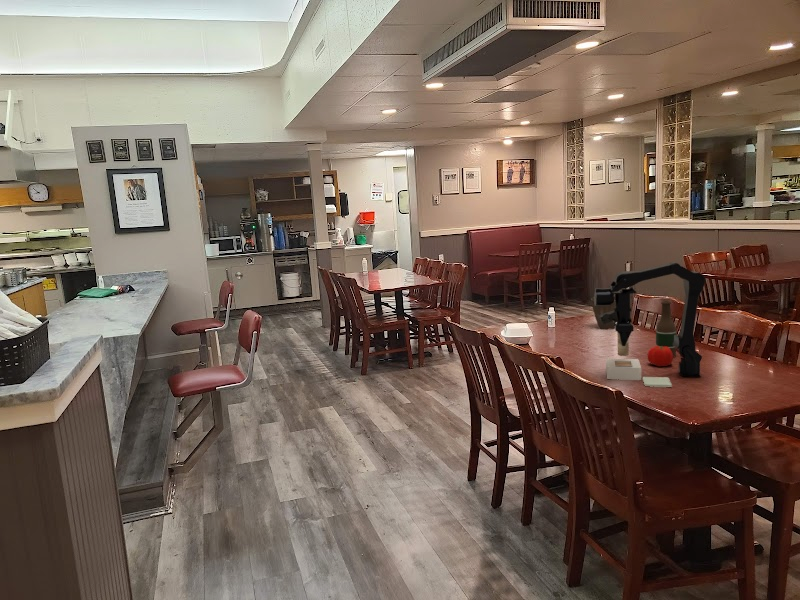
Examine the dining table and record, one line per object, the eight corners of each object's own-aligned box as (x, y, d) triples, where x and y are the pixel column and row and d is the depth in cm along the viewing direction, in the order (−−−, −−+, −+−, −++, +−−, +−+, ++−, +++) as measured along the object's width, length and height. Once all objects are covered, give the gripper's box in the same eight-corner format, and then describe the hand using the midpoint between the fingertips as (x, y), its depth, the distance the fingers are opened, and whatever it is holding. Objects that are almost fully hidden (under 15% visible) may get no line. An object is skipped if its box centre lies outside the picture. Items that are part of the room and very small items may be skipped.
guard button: (629, 367, 222) (629, 363, 222) (630, 371, 217) (630, 367, 217) (615, 367, 223) (615, 363, 223) (616, 370, 219) (616, 367, 219)
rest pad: (668, 380, 212) (668, 377, 212) (671, 387, 203) (671, 385, 203) (642, 379, 215) (642, 376, 214) (644, 386, 206) (644, 384, 206)
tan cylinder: (628, 353, 221) (628, 328, 219) (629, 356, 217) (628, 330, 215) (617, 353, 222) (617, 328, 220) (617, 355, 218) (617, 330, 217)
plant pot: (603, 332, 293) (603, 301, 290) (585, 327, 307) (585, 298, 304) (627, 328, 298) (627, 298, 295) (608, 323, 312) (608, 295, 309)
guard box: (638, 371, 225) (638, 358, 224) (641, 380, 213) (641, 367, 212) (606, 370, 228) (606, 358, 227) (607, 379, 217) (607, 366, 216)
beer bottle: (655, 357, 241) (655, 302, 238) (656, 353, 248) (656, 299, 244) (675, 358, 238) (676, 302, 234) (676, 354, 245) (676, 299, 241)
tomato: (670, 362, 234) (671, 344, 233) (674, 368, 226) (674, 350, 224) (646, 361, 237) (646, 344, 236) (648, 367, 228) (648, 349, 227)
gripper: (599, 301, 228) (600, 338, 230) (601, 309, 210) (601, 350, 213) (629, 300, 224) (629, 339, 227) (633, 309, 207) (633, 350, 209)
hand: (623, 344), depth 219 cm, fingers closed on tan cylinder, 4 cm apart
